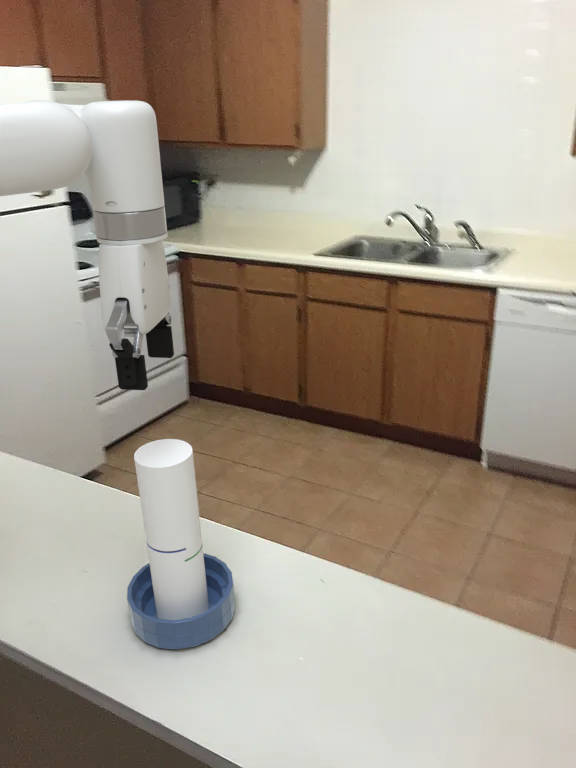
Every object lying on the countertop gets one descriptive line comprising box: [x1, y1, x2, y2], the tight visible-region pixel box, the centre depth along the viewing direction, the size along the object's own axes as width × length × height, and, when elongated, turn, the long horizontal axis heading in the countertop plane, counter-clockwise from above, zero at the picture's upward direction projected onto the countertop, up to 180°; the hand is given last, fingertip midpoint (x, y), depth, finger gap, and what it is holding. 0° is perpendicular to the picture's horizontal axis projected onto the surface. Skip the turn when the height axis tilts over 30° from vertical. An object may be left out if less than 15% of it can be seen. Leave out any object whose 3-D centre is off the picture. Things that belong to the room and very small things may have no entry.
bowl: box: [126, 552, 236, 650], centre depth 92 cm, size 14×14×5 cm
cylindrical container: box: [133, 438, 209, 620], centre depth 87 cm, size 7×7×25 cm
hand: (148, 371), depth 79 cm, fingers open, 9 cm apart
